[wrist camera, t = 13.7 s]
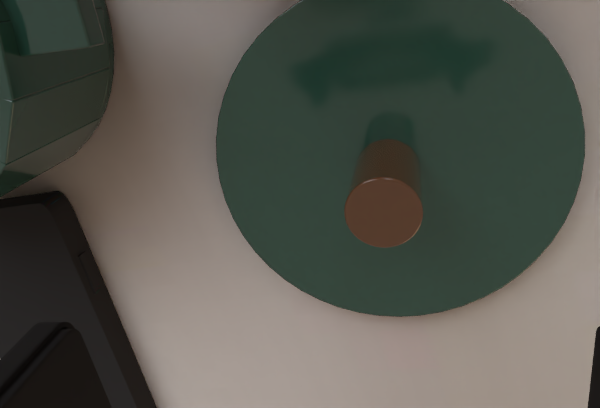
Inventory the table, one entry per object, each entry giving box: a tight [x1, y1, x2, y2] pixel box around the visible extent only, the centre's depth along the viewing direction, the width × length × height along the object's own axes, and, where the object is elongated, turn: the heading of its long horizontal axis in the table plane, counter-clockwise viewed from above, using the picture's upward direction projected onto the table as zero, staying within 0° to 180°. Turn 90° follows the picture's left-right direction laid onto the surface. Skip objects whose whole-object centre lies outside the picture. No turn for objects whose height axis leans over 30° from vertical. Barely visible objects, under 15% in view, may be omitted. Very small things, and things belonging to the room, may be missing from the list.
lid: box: [216, 0, 585, 317], centre depth 21 cm, size 16×16×6 cm
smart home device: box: [0, 191, 156, 408], centre depth 31 cm, size 8×2×20 cm
